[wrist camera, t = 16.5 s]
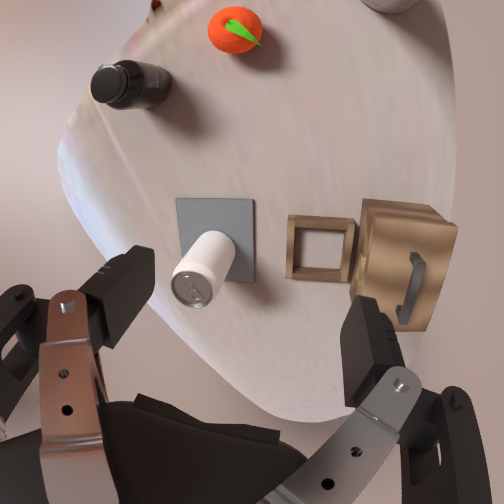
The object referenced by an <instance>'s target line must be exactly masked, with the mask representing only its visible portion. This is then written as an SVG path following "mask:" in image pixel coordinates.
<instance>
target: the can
mask: <svg viewBox="0 0 504 504" xmlns="http://www.w3.org/2000/svg"><path fill="white" fill-rule="evenodd" d="M234 257H235V246H234V244H233V242H232V240H231V239H230V238H229V237H228V236H227V235H225V234H224V233H222V232H219V231H208V232H205V233H204V234H202V235H201V236H200V237H199V238H198V239H197V241H196V242H195V243H194V244H193V246H192V247H191V248H190V250H189V251H188V252H187V254H186V255H185V256H184V258H183V259H182V260H181V262H180V263H179V264H178V266H177V267H176V269H175V270H174V273H173V277H172V281H171V290H172V292H173V294H174V296H175V297H176V299H177V300H178V301H179V302H181V303H182V304H184V305H186V306H188V307H191V308H202V307H205V306H207V305H208V304H209V303H210V302H211V301H212V300H213V299H214V298H215V297H216V296H217V294H218V293H219V291H220V288H221V286H222V284H223V282H224V280H225V277H226V275H227V273H228V271H229V269H230V266H231V264H232V262H233V259H234Z"/></svg>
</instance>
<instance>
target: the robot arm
mask: <svg viewBox="0 0 504 504" xmlns="http://www.w3.org/2000/svg"><path fill="white" fill-rule="evenodd" d="M361 1H362V2H364V3H365V4H366V5H367V6H369V7H371V8H372V9H374V10H377V11H379V12H382V13H387V14H399V13H402V12H404V11H406V10H407V9H408V8H410V7H411V6H412V5H413V4H414V3H415V2H417V1H418V0H361ZM154 286H155V254H154V250H153V249H151V248H147V247H143V246H138V245H134V246H133V247H132V248H131V249H130V250H129V251H128V252H127V253H126V254H120V255H118V256H116V257H114V258H111V259H110V260H109V261H108V262H107V263H106V264H105V265H104V267H101V268H100V269H99V270H98V272H97V273H95V274H94V275H93V276H92V277H91V278H90V279H89V280H88V281H86V282H85V284H83V285H82V286H81V287H80V288H79V289H78V290H65V291H61V292H59V293H57V294H55V295H54V296H53V297H52V298H51V300H48V299H39V298H35V295H34V292H33V289H32V288H31V287H30V286H28V285H25V284H22V285H21V284H20V285H16V286H13V287H11V288H9V289H8V290H6V291H5V292H4V293H3V294H2V295H1V296H0V504H352V503H353V501H354V500H355V499H356V498H357V497H358V495H359V494H360V493H361V492H362V490H363V489H364V488H365V487H366V485H367V484H368V483H369V481H370V480H371V479H372V478H373V476H374V475H375V473H376V472H377V471H378V469H379V468H380V466H381V465H382V464H383V462H384V461H385V459H386V458H387V456H388V455H389V453H390V452H391V450H392V449H393V447H394V446H395V444H396V443H397V444H400V454H401V476H402V504H492V497H491V489H490V482H489V475H488V469H487V463H486V458H485V454H484V449H483V444H482V439H481V435H480V431H479V427H478V423H477V419H476V415H475V412H474V409H473V405H472V402H471V399H470V397H469V396H468V394H467V393H466V392H465V391H464V390H462V389H461V388H459V387H456V386H449V387H446V388H445V389H444V391H442V393H441V394H437V393H435V392H432V391H429V390H426V389H424V388H422V385H421V381H420V380H419V378H418V376H417V375H416V374H415V373H414V372H412V371H411V370H409V369H407V368H406V367H405V364H404V360H403V356H402V353H401V349H400V346H399V343H398V342H397V340H398V339H397V336H396V334H395V330H394V327H393V323H392V321H391V320H390V319H389V318H388V316H387V315H386V314H385V313H383V312H380V310H379V307H378V304H377V300H376V299H375V298H372V297H367V296H362V295H356V296H355V298H354V300H353V302H352V305H351V307H350V309H349V312H348V314H347V316H346V319H345V321H344V323H343V326H342V329H341V333H340V345H341V356H342V368H343V382H344V398H345V407H355V408H356V410H355V411H354V412H353V413H352V414H351V415H350V416H349V418H348V419H347V420H346V421H345V422H344V423H343V424H342V425H341V426H340V428H339V429H338V430H337V431H336V432H335V433H334V434H333V435H332V436H331V437H330V438H329V439H328V440H327V442H326V443H324V445H322V446H321V448H319V449H318V450H317V451H316V452H315V453H314V454H313V455H312V456H311V457H310V458H309V459H307V457H306V456H304V455H303V454H302V453H301V452H299V451H298V450H297V449H295V448H294V447H292V446H290V445H288V444H286V443H284V442H282V441H280V440H279V438H280V431H279V430H273V429H267V428H262V427H256V426H251V425H247V424H213V423H212V424H211V423H204V422H201V421H199V420H198V419H195V418H194V417H192V416H190V415H188V414H186V413H185V412H183V411H181V410H179V409H178V408H176V407H174V406H173V405H171V404H168V403H164V402H162V401H159V400H156V399H153V398H150V397H147V396H145V395H142V394H139V393H138V395H137V397H136V398H135V400H134V402H131V401H115V402H109V399H108V395H107V391H106V386H105V382H104V376H103V371H102V365H101V359H100V354H99V349H100V348H101V347H102V345H104V346H106V347H108V348H111V349H114V347H115V346H116V344H117V343H118V341H119V340H120V338H121V337H122V336H123V334H124V333H125V331H126V330H127V329H128V327H129V326H130V324H131V323H132V322H133V320H134V318H135V317H136V316H137V314H138V313H139V312H140V310H141V309H142V308H143V306H144V305H145V304H146V302H147V301H148V300H149V298H150V297H151V295H152V293H153V290H154ZM14 334H16V337H17V339H18V342H17V343H16V345H15V346H14V347H13V348H12V350H11V351H10V352H9V353H8V355H7V356H6V357H5V358H4V360H3V361H2V358H1V352H2V349H3V347H4V346H5V344H6V343H7V342H8V341H9V340H10V338H11V337H12V336H13V335H14ZM38 372H39V403H40V420H41V428H40V429H37V430H34V431H31V432H29V433H26V434H23V435H20V436H17V437H14V438H11V439H8V440H7V436H6V434H5V432H6V425H5V423H6V421H7V419H8V418H9V416H10V414H11V413H12V411H13V410H14V408H15V406H16V405H17V403H18V402H19V400H20V398H21V397H22V395H23V394H24V392H25V391H26V389H27V388H28V386H29V385H30V383H31V382H32V380H33V379H34V377H35V376H36V374H37V373H38ZM438 443H439V444H440V451H441V465H440V464H439V457H438V448H437V444H438Z"/></svg>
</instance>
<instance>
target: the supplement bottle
mask: <svg viewBox="0 0 504 504" xmlns="http://www.w3.org/2000/svg"><path fill="white" fill-rule="evenodd" d="M170 87H171V81H170V77H169V75H168V73H167V72H166V71H165V70H164V69H163V68H161V67H159V66H156V65H152V64H147V63H143V62H138V61H133V60H122V61H119V62H117V63H115V64H113V65H105V66H104V67H102V68H100V69H99V70H98V71H97V72H96V73H95V74H94V76H93V78H92V81H91V87H90V88H91V93H92V95H93V98H94V99H95V100H96V101H97V102H100V103H106V104H107V105H108V106H109V107H111V108H113V109H116V110H126V109H142V108H152V107H155V106H158V105H159V104H161V103H162V102H163V101H164V100H165V99H166V97H167V96H168V94H169V91H170Z"/></svg>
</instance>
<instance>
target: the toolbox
mask: <svg viewBox="0 0 504 504" xmlns="http://www.w3.org/2000/svg"><path fill="white" fill-rule="evenodd" d="M295 227H303V228H320V229H337V230H345V234H344V242H343V250H342V258H341V265H340V269H327V268H309V267H293V253H294V232H295ZM354 229H355V223H354V220H353V219H350V218H335V217H319V216H301V215H288V226H287V253H286V276H285V279H297V280H314V281H332V282H347V277H348V271H349V265H350V258H351V251H352V244H353V237H354ZM457 231H458V227H457V226H456V225H455V224H454V223H451V222H448V221H446V220H445V219H444V218H443V217H442V216H441V215H440V214H439V213H437V212H436V211H435V210H434V209H433V208H432V207H431V206H429V205H423V204H414V203H405V202H395V201H385V200H374V199H363V202H362V211H361V219H360V227H359V235H358V242H357V249H356V256H355V262H354V268H353V274H352V280H351V286H350V291H349V292H350V297H351V302H353V300H354V298H355V296H356V295H362V296H367V297H372V298H375V299H376V300H377V304H378V307H379V310H380V312H383V313H385V314H386V315H387V316H388V318H389V319H390V320H391V321H392V323H393V327H394V330H395V332H409V331H426V329H427V326H428V324H429V321H430V319H431V316H432V313H433V311H434V308H435V306H436V302H437V300H438V297H439V294H440V291H441V288H442V285H443V282H444V279H445V276H446V273H447V269H448V266H449V262H450V259H451V255H452V252H453V248H454V244H455V240H456V236H457Z"/></svg>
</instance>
